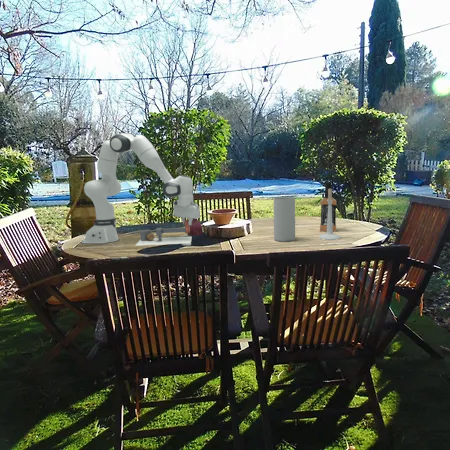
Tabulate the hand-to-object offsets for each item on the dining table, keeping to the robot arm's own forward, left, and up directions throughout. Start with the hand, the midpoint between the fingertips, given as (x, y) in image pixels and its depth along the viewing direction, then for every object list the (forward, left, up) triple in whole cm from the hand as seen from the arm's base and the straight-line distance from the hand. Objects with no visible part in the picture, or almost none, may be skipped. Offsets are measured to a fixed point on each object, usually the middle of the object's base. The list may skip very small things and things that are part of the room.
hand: (187, 224), depth 240 cm
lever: (-9, -2, -5) cm, 10 cm away
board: (-14, -2, -10) cm, 17 cm away
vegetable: (+4, +23, -10) cm, 26 cm away
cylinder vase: (+58, -9, -10) cm, 60 cm away
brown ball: (-23, 0, -9) cm, 24 cm away
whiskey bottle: (+92, +15, -10) cm, 94 cm away
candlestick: (+85, -10, -10) cm, 86 cm away
